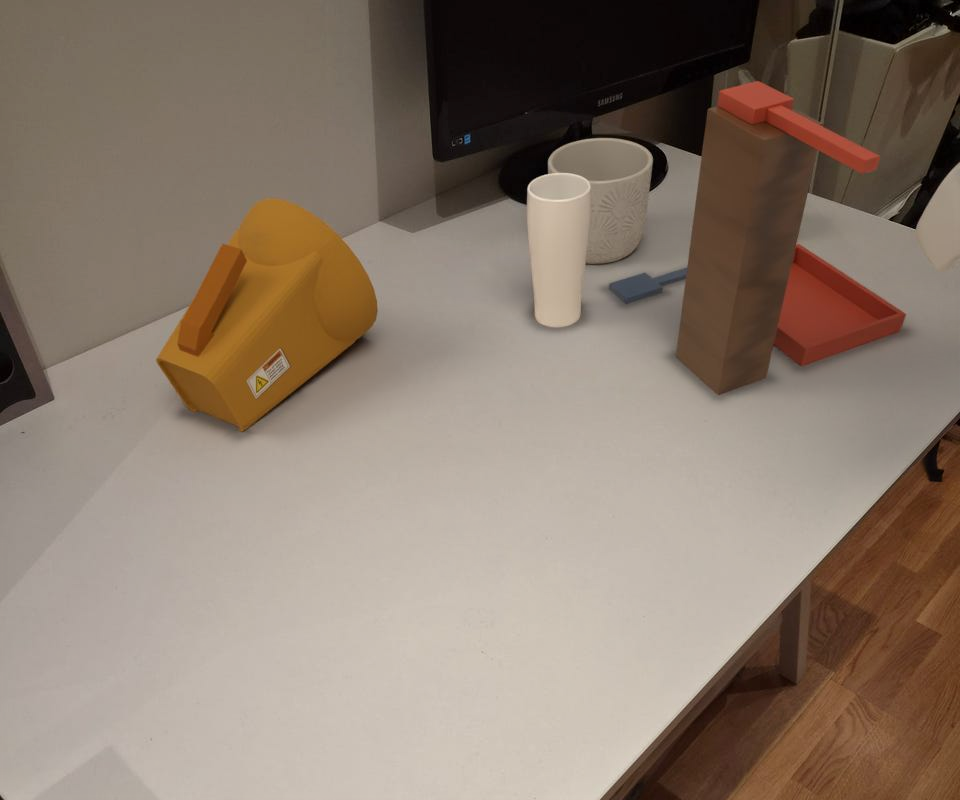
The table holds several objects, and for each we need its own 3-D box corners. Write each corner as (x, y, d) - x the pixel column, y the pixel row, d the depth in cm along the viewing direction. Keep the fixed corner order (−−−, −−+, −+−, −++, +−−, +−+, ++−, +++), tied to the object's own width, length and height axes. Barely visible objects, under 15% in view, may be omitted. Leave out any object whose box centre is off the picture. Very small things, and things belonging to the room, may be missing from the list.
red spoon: (755, 95, 76) (758, 80, 75) (890, 165, 66) (895, 149, 65) (717, 105, 76) (719, 90, 75) (847, 178, 65) (852, 161, 65)
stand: (720, 345, 96) (764, 93, 77) (765, 382, 91) (823, 123, 72) (674, 361, 95) (707, 108, 75) (717, 399, 90) (763, 140, 71)
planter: (638, 276, 106) (646, 184, 98) (539, 270, 109) (538, 179, 100) (650, 228, 114) (658, 139, 105) (557, 223, 116) (557, 135, 108)
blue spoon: (608, 292, 104) (609, 283, 103) (727, 255, 108) (728, 246, 107) (625, 308, 102) (626, 298, 101) (746, 269, 106) (748, 260, 105)
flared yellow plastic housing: (285, 310, 106) (221, 177, 90) (396, 347, 99) (346, 211, 84) (183, 428, 100) (95, 308, 84) (293, 476, 93) (220, 355, 78)
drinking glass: (596, 325, 100) (603, 191, 88) (543, 340, 99) (542, 206, 87) (571, 298, 104) (574, 166, 92) (519, 312, 103) (516, 180, 91)
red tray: (794, 264, 106) (798, 243, 104) (899, 335, 95) (906, 313, 93) (702, 293, 103) (705, 272, 101) (800, 370, 92) (805, 348, 90)
